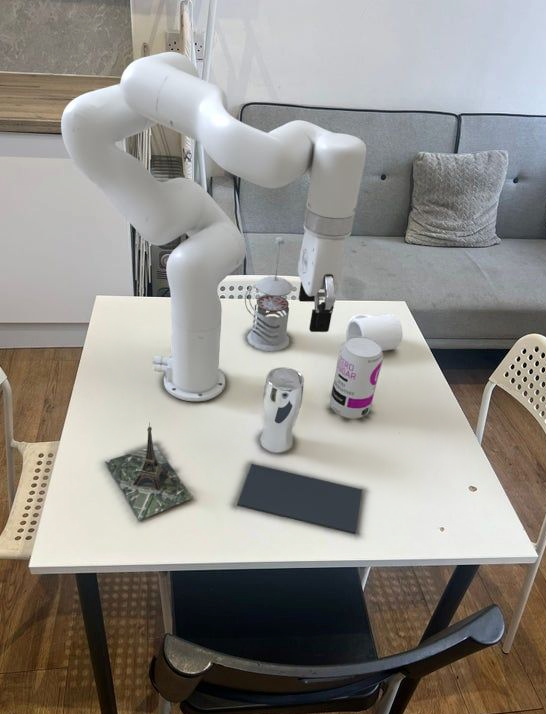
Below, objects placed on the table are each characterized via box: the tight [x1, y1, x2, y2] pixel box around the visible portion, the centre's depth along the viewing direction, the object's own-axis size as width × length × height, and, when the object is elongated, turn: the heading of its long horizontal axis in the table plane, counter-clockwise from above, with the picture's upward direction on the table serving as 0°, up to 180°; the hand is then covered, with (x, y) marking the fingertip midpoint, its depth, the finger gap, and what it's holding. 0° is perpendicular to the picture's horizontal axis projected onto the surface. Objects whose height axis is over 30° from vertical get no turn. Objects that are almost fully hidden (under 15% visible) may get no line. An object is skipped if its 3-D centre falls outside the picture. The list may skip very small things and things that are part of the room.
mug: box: [346, 313, 403, 352], centre depth 146 cm, size 12×10×8 cm
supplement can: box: [329, 336, 384, 420], centre depth 125 cm, size 8×8×15 cm
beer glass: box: [259, 366, 305, 454], centre depth 115 cm, size 7×7×15 cm
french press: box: [244, 236, 294, 352], centre depth 139 cm, size 10×12×25 cm
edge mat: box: [236, 463, 363, 535], centre depth 109 cm, size 20×10×1 cm, turn 77°
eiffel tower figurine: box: [104, 421, 194, 521], centre depth 105 cm, size 15×10×13 cm
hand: (312, 315), depth 109 cm, fingers open, 9 cm apart
